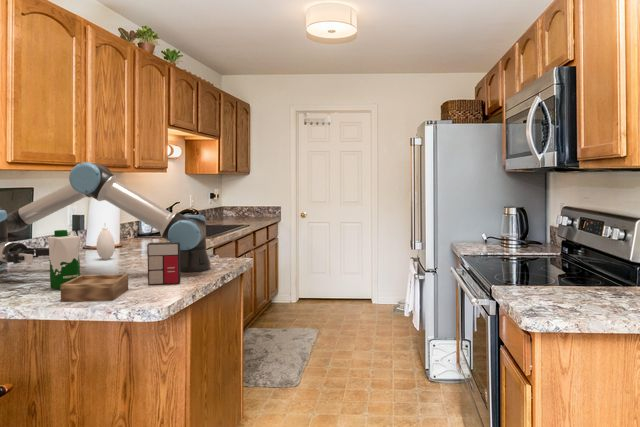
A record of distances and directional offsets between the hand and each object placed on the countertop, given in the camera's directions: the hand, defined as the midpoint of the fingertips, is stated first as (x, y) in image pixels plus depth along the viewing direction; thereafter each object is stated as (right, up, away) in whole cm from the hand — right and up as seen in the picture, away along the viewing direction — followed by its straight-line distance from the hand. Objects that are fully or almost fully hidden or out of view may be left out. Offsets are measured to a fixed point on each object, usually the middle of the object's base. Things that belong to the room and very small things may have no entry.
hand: (50, 255), depth 165 cm
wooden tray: (+23, -12, -13) cm, 29 cm away
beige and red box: (+39, -11, +5) cm, 41 cm away
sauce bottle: (-8, -7, +60) cm, 61 cm away
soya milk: (+6, -11, -2) cm, 13 cm away
